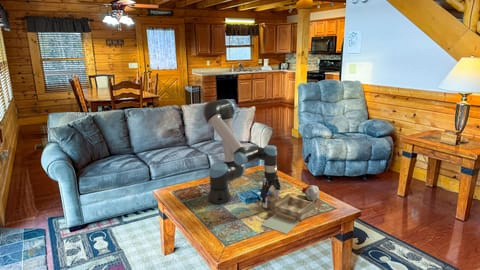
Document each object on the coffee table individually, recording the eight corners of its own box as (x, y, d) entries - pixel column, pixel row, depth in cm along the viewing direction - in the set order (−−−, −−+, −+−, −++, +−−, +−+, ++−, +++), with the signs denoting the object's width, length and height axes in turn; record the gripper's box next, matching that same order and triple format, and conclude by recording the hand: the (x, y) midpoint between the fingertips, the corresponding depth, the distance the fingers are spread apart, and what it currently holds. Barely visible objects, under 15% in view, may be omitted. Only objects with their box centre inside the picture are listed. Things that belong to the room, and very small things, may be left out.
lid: (261, 226, 181) (261, 220, 180) (275, 214, 193) (275, 209, 192) (286, 235, 172) (286, 229, 171) (300, 222, 184) (300, 217, 183)
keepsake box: (274, 212, 194) (274, 203, 193) (287, 202, 207) (288, 193, 206) (301, 221, 184) (301, 211, 182) (314, 210, 197) (314, 200, 195)
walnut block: (263, 207, 201) (263, 198, 200) (268, 204, 206) (268, 195, 204) (271, 210, 198) (271, 201, 196) (276, 206, 202) (276, 197, 201)
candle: (317, 203, 204) (297, 199, 215) (326, 197, 212) (306, 194, 223) (316, 190, 203) (296, 186, 213) (325, 184, 211) (305, 181, 221)
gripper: (264, 178, 184) (264, 212, 189) (286, 166, 203) (285, 197, 208) (253, 175, 188) (254, 209, 193) (275, 164, 208) (275, 194, 212)
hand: (270, 203), depth 201 cm, fingers open, 13 cm apart
